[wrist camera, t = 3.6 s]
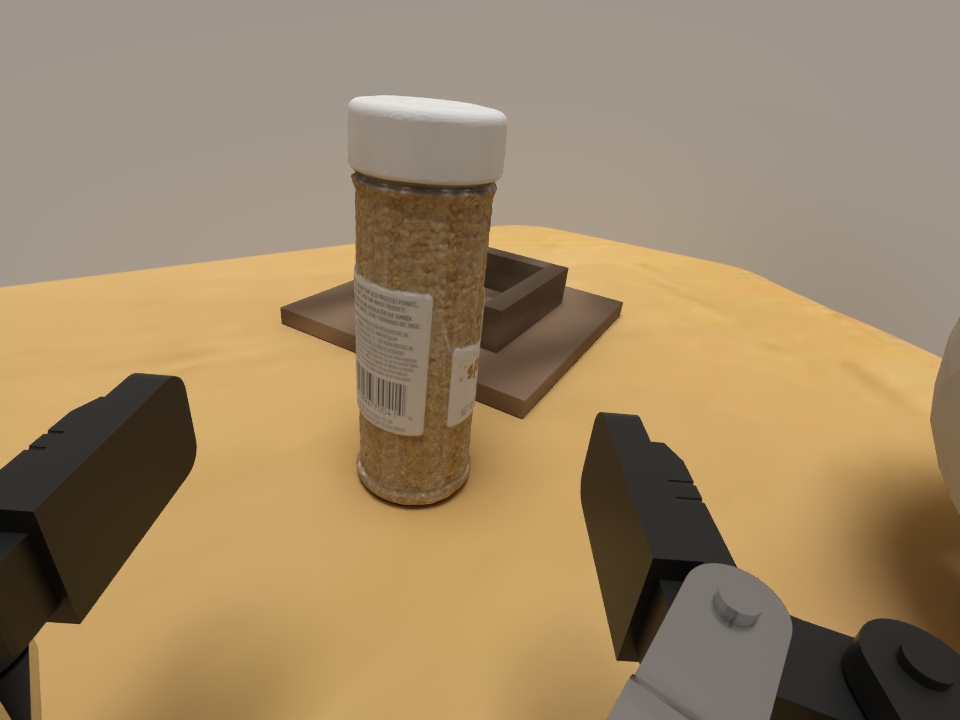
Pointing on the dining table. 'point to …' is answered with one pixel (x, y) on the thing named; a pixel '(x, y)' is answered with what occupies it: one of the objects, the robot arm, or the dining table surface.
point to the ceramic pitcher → (948, 416)
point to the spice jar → (420, 285)
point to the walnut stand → (496, 327)
